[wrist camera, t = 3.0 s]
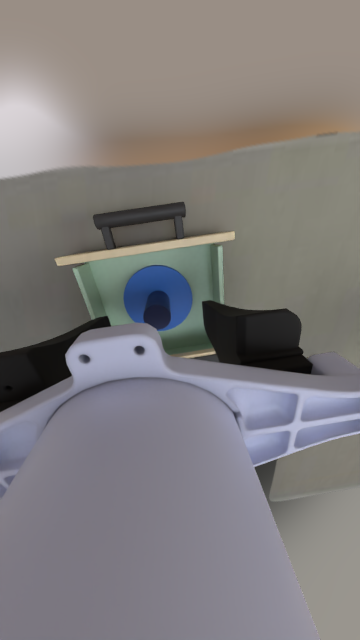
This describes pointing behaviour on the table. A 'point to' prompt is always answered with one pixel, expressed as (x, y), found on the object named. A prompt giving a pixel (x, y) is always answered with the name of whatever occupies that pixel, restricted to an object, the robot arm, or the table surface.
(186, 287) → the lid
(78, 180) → the table surface
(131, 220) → the wooden drawer
